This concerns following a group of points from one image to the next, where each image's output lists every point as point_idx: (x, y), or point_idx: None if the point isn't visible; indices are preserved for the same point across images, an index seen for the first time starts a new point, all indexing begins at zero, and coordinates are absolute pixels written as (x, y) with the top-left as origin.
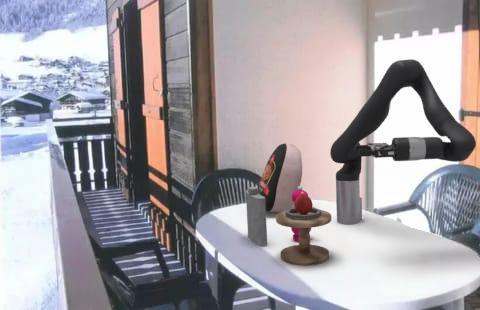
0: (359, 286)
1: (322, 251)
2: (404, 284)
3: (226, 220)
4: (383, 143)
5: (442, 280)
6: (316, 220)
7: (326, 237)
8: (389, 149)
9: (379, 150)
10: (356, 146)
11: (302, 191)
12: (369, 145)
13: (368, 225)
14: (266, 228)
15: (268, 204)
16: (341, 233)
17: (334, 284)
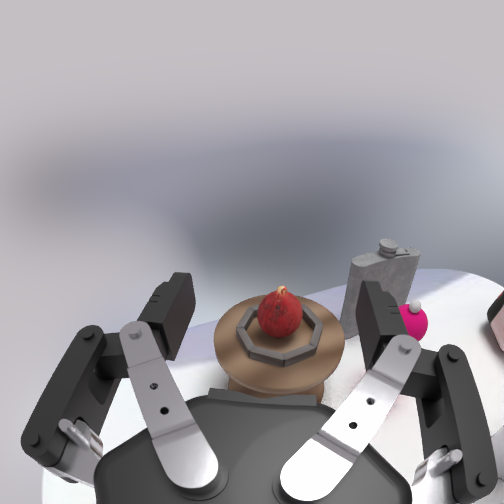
0: (108, 431)
1: None
2: (87, 493)
3: (450, 288)
4: (290, 459)
5: None
6: (229, 351)
7: (395, 430)
8: (33, 413)
9: (69, 350)
10: (363, 286)
11: (407, 316)
12: (382, 355)
13: (478, 500)
14: (349, 316)
15: (489, 313)
16: (423, 456)
17: (131, 403)
